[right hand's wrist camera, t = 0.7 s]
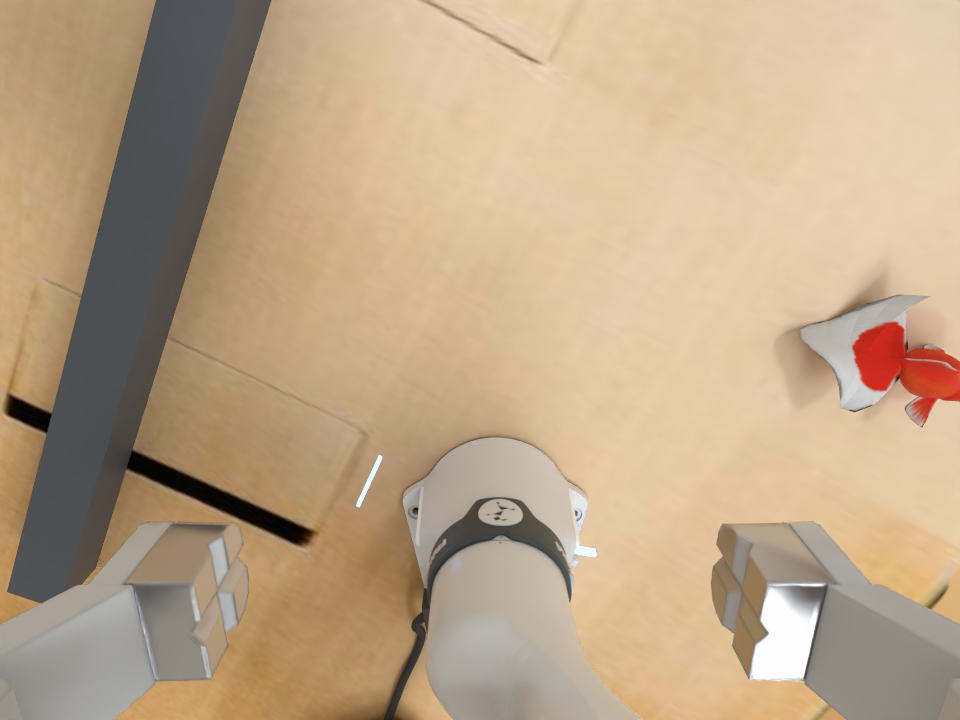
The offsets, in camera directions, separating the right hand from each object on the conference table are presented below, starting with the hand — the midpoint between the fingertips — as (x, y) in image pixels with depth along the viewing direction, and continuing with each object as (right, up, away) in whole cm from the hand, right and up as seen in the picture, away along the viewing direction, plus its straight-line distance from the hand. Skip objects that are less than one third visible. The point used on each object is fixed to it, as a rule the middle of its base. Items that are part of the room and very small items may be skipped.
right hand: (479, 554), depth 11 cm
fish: (+36, +4, +47) cm, 60 cm away
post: (-30, +9, +46) cm, 56 cm away
